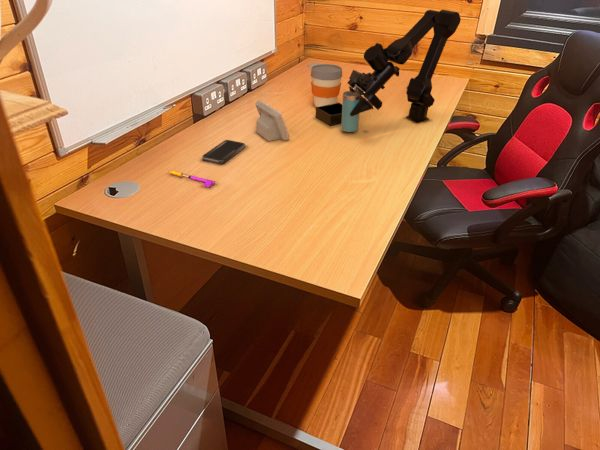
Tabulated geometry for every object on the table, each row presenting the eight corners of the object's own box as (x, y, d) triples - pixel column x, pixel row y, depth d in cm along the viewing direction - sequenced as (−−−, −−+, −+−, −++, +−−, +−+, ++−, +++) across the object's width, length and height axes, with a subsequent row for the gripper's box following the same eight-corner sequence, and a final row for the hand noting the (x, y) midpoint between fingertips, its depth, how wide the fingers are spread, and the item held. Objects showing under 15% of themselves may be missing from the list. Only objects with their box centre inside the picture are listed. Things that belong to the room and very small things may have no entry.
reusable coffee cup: (305, 108, 189) (306, 70, 180) (316, 98, 198) (317, 62, 190) (334, 112, 185) (336, 74, 177) (344, 102, 195) (346, 66, 186)
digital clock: (290, 141, 161) (290, 112, 155) (265, 145, 158) (264, 115, 152) (276, 124, 174) (276, 96, 168) (253, 127, 171) (251, 99, 165)
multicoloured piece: (216, 183, 136) (171, 172, 141) (215, 180, 135) (170, 169, 140) (211, 189, 134) (166, 177, 140) (210, 186, 133) (165, 174, 139)
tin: (351, 123, 170) (353, 89, 163) (362, 129, 165) (365, 95, 158) (337, 127, 167) (339, 92, 160) (347, 133, 163) (350, 98, 156)
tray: (338, 113, 184) (339, 102, 182) (353, 122, 177) (354, 110, 174) (315, 118, 179) (315, 107, 177) (330, 127, 172) (330, 115, 170)
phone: (200, 156, 148) (226, 139, 159) (201, 159, 148) (226, 142, 160) (222, 161, 145) (246, 143, 156) (222, 164, 146) (246, 146, 157)
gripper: (354, 54, 162) (323, 88, 165) (377, 69, 147) (342, 106, 150) (373, 75, 168) (342, 108, 171) (396, 92, 153) (363, 127, 157)
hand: (347, 112), depth 162 cm, fingers closed on tin, 6 cm apart
